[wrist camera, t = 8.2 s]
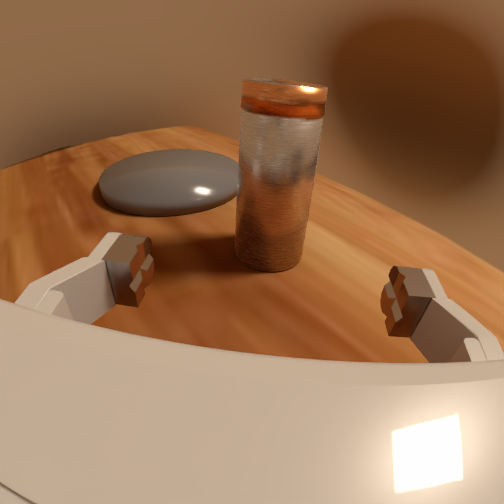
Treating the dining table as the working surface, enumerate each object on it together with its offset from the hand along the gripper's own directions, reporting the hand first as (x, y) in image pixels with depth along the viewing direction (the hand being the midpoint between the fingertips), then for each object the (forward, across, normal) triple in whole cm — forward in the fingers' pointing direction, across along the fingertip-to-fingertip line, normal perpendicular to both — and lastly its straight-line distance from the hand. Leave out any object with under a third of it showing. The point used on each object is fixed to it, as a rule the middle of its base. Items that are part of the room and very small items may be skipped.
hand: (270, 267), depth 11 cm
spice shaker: (+10, 0, +6) cm, 11 cm away
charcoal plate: (+20, +10, +6) cm, 23 cm away
